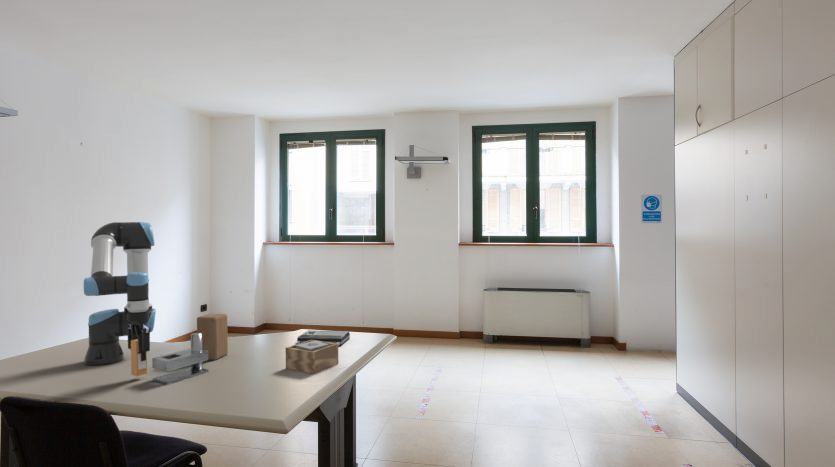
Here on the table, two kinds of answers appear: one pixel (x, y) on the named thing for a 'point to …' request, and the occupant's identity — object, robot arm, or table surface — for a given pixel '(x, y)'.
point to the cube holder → (311, 358)
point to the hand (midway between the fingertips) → (139, 367)
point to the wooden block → (213, 334)
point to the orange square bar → (136, 359)
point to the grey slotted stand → (182, 362)
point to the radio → (325, 336)
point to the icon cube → (312, 346)
